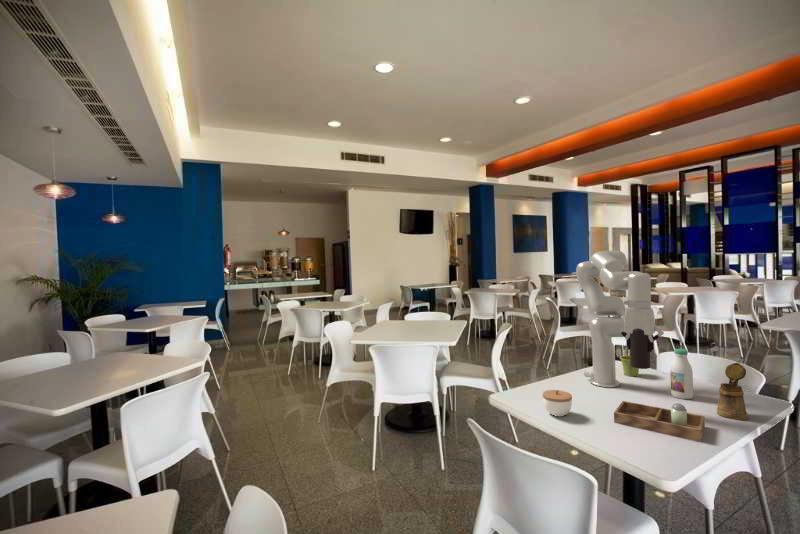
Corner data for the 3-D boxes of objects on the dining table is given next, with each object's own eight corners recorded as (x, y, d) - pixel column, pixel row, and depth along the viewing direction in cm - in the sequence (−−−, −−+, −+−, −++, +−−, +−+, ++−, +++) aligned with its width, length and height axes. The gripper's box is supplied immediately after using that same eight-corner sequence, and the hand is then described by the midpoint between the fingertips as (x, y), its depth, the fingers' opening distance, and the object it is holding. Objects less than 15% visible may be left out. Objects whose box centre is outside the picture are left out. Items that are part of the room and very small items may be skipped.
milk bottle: (685, 393, 168) (684, 347, 167) (697, 399, 160) (696, 351, 159) (667, 393, 168) (665, 347, 168) (678, 399, 161) (676, 352, 160)
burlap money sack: (754, 412, 146) (752, 364, 145) (744, 422, 138) (743, 372, 137) (724, 405, 153) (722, 360, 152) (713, 415, 145) (712, 367, 144)
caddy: (614, 424, 140) (613, 412, 140) (623, 412, 150) (622, 400, 150) (701, 444, 123) (701, 430, 123) (704, 428, 134) (704, 416, 134)
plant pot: (618, 375, 194) (617, 358, 194) (622, 371, 202) (621, 354, 201) (640, 379, 188) (639, 361, 188) (643, 374, 196) (642, 357, 195)
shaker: (670, 429, 133) (669, 404, 133) (672, 425, 136) (671, 400, 136) (686, 433, 130) (685, 407, 130) (687, 428, 133) (687, 403, 133)
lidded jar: (538, 409, 156) (537, 386, 156) (563, 407, 157) (563, 384, 157) (551, 420, 146) (550, 395, 146) (578, 418, 147) (577, 393, 146)
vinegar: (640, 363, 156) (640, 314, 155) (654, 368, 149) (654, 317, 148) (626, 364, 155) (625, 315, 154) (639, 370, 148) (638, 318, 147)
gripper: (612, 304, 154) (613, 349, 154) (664, 307, 142) (665, 355, 143) (616, 302, 159) (617, 345, 160) (667, 304, 148) (668, 351, 149)
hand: (640, 349), depth 152 cm, fingers closed on vinegar, 6 cm apart
